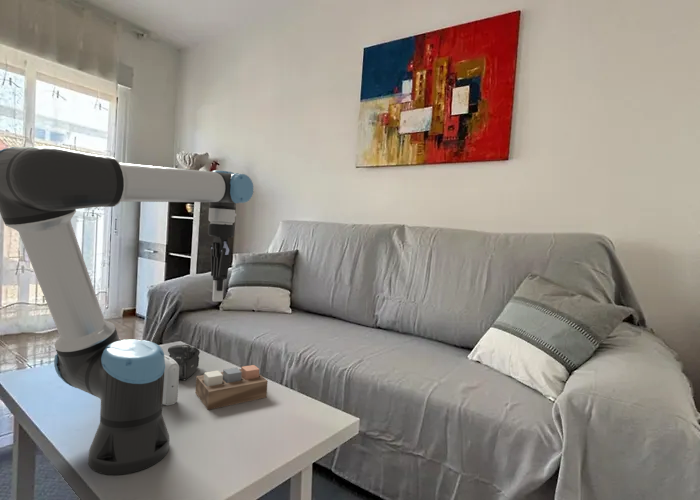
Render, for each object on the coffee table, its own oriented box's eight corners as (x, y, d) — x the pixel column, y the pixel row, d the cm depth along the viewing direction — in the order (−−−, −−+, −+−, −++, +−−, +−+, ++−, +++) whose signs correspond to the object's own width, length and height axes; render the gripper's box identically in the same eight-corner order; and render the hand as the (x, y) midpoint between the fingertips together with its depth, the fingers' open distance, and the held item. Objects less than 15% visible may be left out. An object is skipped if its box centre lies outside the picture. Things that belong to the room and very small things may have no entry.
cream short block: (221, 392, 113) (222, 375, 113) (207, 395, 111) (208, 377, 110) (217, 387, 116) (218, 370, 116) (203, 389, 114) (204, 372, 113)
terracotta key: (258, 385, 120) (259, 369, 119) (245, 387, 117) (246, 371, 117) (253, 380, 123) (253, 364, 122) (240, 382, 120) (241, 366, 120)
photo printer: (180, 402, 110) (182, 358, 109) (165, 407, 107) (167, 362, 106) (159, 391, 116) (161, 349, 115) (144, 396, 112) (146, 353, 111)
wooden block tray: (266, 397, 117) (267, 380, 117) (207, 409, 107) (208, 391, 107) (250, 382, 127) (251, 367, 126) (195, 392, 116) (196, 376, 116)
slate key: (240, 388, 116) (241, 372, 116) (227, 391, 114) (228, 374, 114) (235, 383, 119) (236, 367, 119) (222, 386, 117) (223, 369, 117)
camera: (167, 367, 134) (168, 338, 133) (198, 365, 138) (200, 337, 137) (164, 383, 122) (166, 351, 121) (199, 380, 125) (200, 349, 125)
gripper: (241, 225, 116) (237, 304, 118) (226, 223, 127) (222, 296, 128) (216, 223, 112) (211, 306, 113) (202, 221, 122) (198, 297, 124)
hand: (217, 300), depth 121 cm, fingers closed
